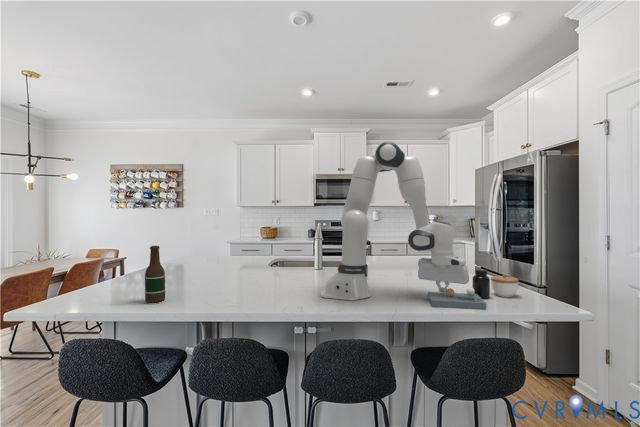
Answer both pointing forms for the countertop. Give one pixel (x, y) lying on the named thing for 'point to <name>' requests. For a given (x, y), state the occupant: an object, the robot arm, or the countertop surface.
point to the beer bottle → (154, 278)
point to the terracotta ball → (450, 292)
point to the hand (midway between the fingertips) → (442, 292)
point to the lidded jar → (504, 285)
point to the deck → (456, 300)
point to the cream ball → (470, 291)
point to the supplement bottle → (481, 283)
